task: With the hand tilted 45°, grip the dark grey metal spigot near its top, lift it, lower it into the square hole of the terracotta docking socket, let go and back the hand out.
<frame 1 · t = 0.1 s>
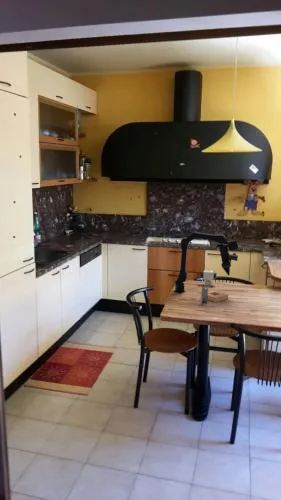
hand: (228, 273, 283), 15 cm above the table, tool pointing down, fingers open, 9 cm apart
spigot: (204, 302, 268), on the table
docking socket: (214, 297, 278), on the table
pneumatic valve: (208, 285, 311), on the table
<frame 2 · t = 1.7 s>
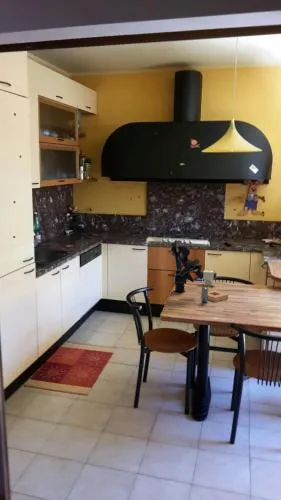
hand: (197, 280, 272), 14 cm above the table, tool tilted 45°, fingers open, 9 cm apart
nothing on the table moved.
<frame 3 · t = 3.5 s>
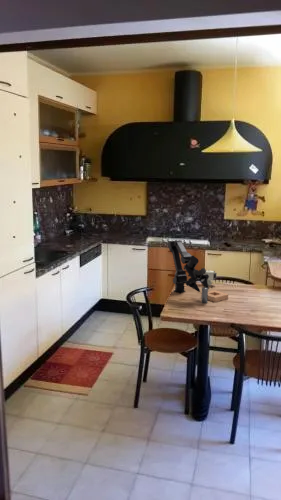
hand: (204, 290, 267), 8 cm above the table, tool tilted 45°, fingers open, 9 cm apart
nothing on the table moved.
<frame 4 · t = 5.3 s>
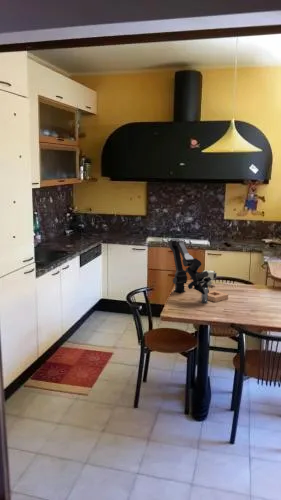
hand: (206, 293, 266), 7 cm above the table, tool tilted 45°, fingers closed on spigot, 4 cm apart
spigot: (204, 302, 268), on the table, touching gripper
everything else where it was.
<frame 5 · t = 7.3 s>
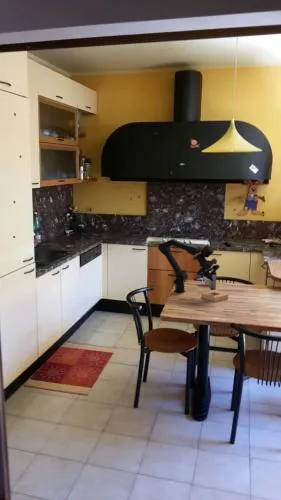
hand: (214, 280, 273), 14 cm above the table, tool tilted 45°, fingers closed on spigot, 4 cm apart
spigot: (212, 289, 275), point 7 cm above the table, touching gripper
everything else where it was.
when the fingers open (8 cm above the table, at t = 9.6 s): spigot drops 1 cm, resting in docking socket.
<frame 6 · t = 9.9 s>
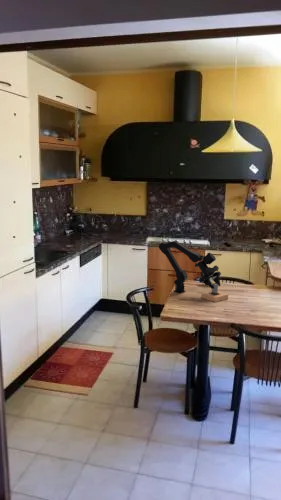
hand: (216, 287, 276), 8 cm above the table, tool tilted 45°, fingers open, 8 cm apart
spigot: (214, 297, 278), resting in docking socket
everything else where it was.
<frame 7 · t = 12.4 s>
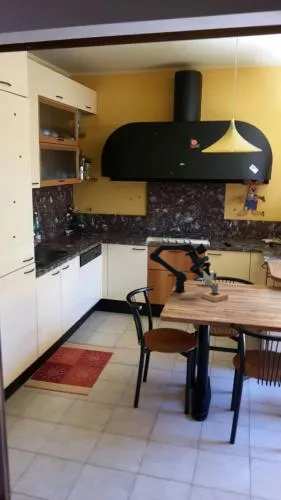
hand: (206, 276, 282), 14 cm above the table, tool tilted 45°, fingers open, 9 cm apart
nothing on the table moved.
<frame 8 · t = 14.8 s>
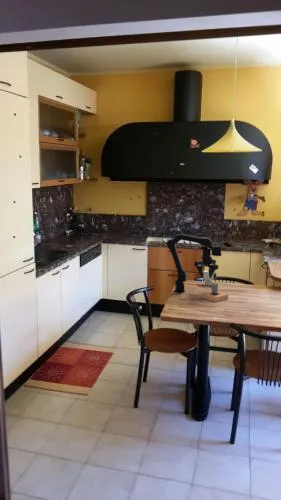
hand: (205, 276, 287), 12 cm above the table, tool pointing down, fingers open, 9 cm apart
nothing on the table moved.
at the end: spigot 0.1 cm off-centre on the docking socket, point 0.0 cm above the docking socket's base; spigot tilted 0°; the gripper is holding nothing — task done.
